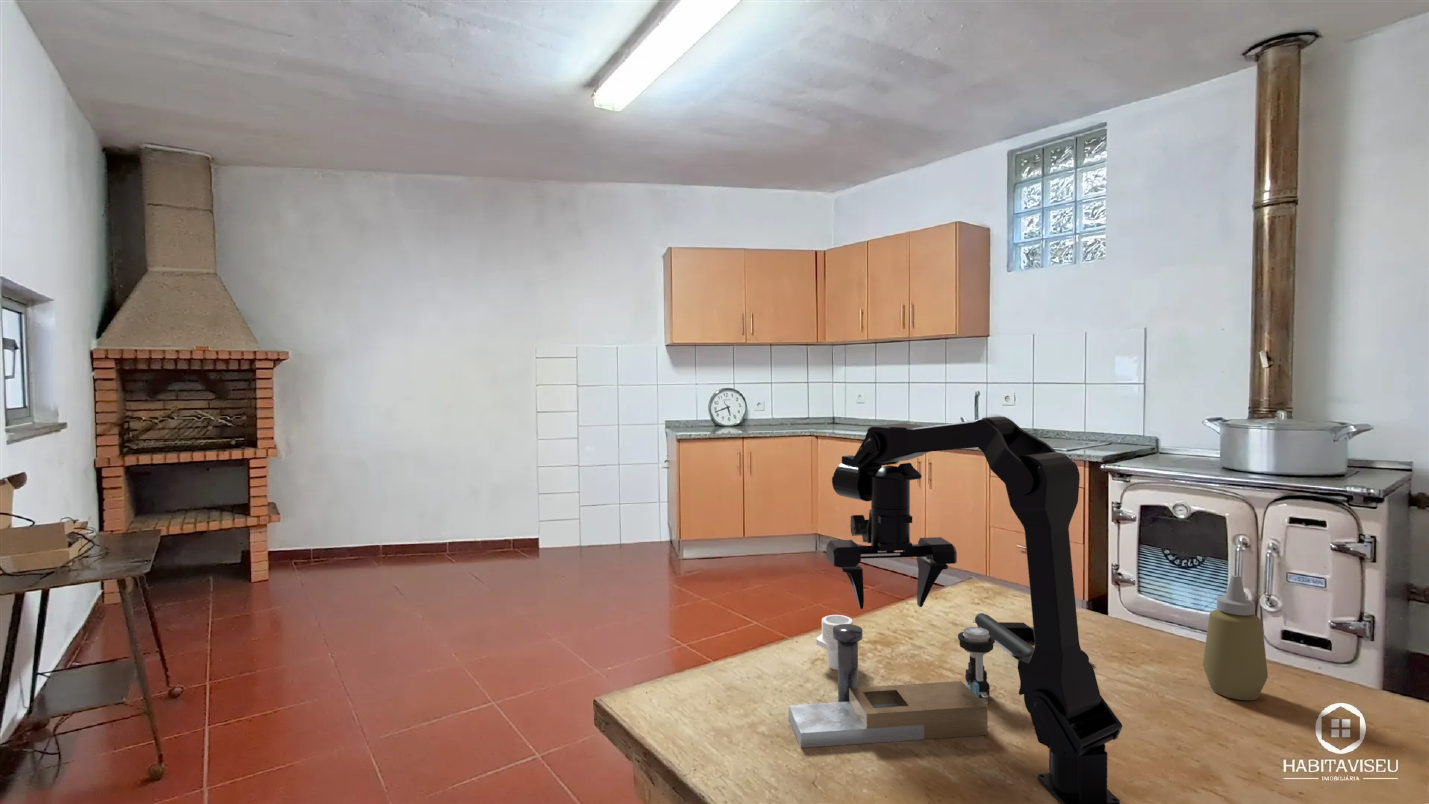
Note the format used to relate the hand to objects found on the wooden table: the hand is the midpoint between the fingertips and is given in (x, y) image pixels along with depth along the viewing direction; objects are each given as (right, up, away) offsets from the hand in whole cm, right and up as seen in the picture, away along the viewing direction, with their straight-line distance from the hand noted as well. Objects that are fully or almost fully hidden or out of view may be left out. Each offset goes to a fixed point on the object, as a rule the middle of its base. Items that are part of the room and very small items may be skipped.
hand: (890, 607), depth 109 cm
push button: (+13, -14, 0) cm, 19 cm away
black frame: (+31, -13, +20) cm, 39 cm away
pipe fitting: (-6, -14, +12) cm, 19 cm away
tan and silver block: (-3, -14, -9) cm, 17 cm away
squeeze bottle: (+52, -13, 0) cm, 54 cm away
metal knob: (-7, -14, -1) cm, 16 cm away
